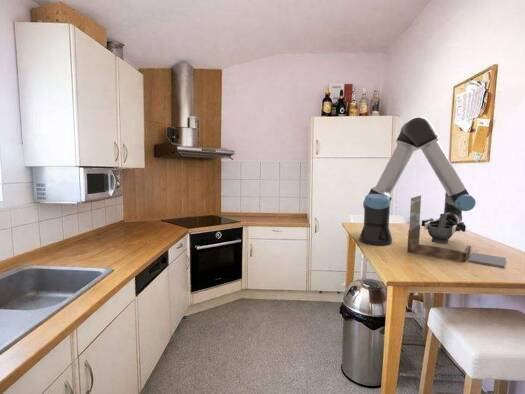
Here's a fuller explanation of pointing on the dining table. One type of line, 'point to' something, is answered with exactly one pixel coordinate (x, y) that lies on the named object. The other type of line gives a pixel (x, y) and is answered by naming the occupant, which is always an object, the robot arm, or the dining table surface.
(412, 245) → the brown piece
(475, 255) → the slate pad
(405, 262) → the dining table surface
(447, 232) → the mortar and pestle
